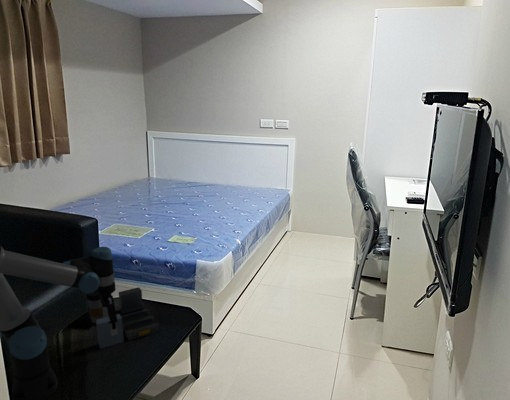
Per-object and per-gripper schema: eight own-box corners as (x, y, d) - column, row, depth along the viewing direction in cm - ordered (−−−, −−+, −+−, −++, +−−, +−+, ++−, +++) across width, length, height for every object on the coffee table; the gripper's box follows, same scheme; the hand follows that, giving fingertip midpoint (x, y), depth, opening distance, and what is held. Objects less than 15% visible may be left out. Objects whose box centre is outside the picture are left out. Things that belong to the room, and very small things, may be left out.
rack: (128, 341, 185) (126, 314, 181) (115, 315, 206) (112, 290, 202) (159, 332, 192) (157, 305, 188) (143, 307, 213) (141, 283, 209)
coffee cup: (93, 315, 205) (90, 287, 201) (110, 316, 205) (107, 288, 201) (86, 324, 197) (82, 296, 193) (103, 325, 197) (100, 296, 193)
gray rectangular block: (100, 349, 179) (97, 324, 176) (98, 344, 183) (95, 319, 180) (123, 341, 184) (121, 317, 181) (121, 337, 188) (119, 313, 185)
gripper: (122, 292, 168) (126, 338, 173) (107, 269, 188) (112, 311, 194) (102, 297, 164) (108, 344, 170) (90, 273, 184) (95, 316, 190)
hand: (110, 327), depth 182 cm, fingers open, 13 cm apart
